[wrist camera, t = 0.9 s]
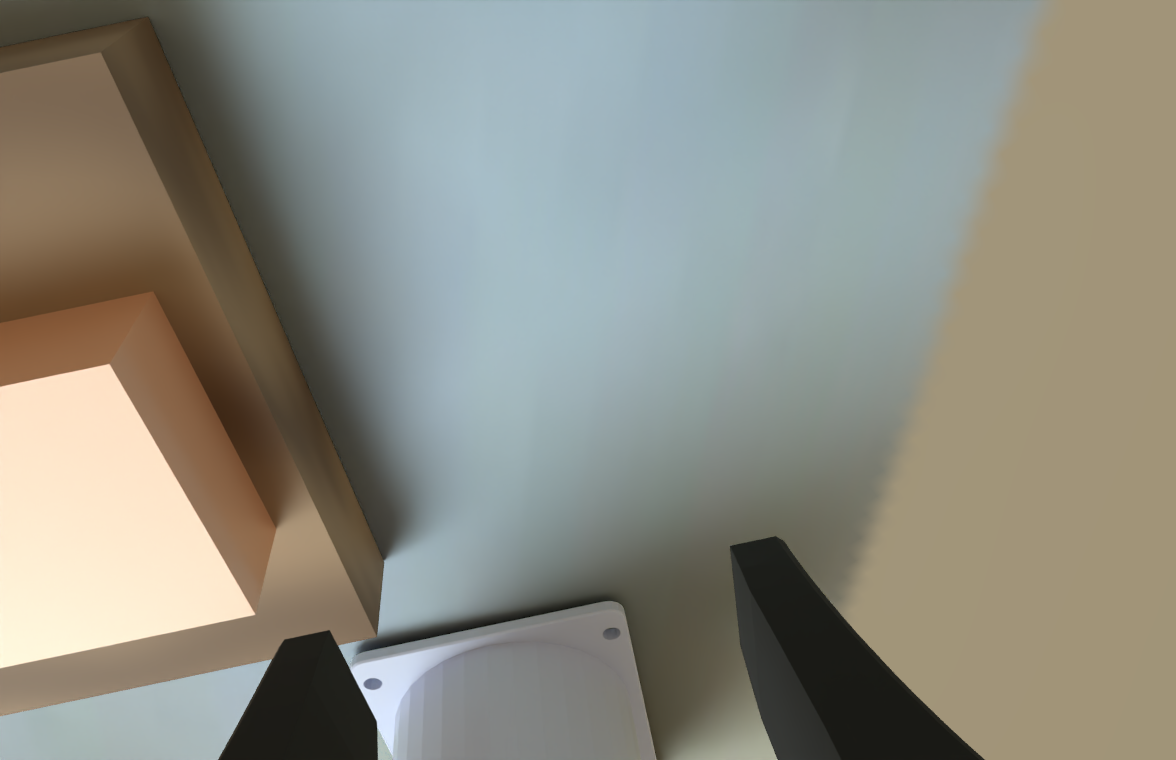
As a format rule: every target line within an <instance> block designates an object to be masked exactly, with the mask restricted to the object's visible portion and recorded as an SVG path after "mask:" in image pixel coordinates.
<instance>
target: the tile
mask: <svg viewBox="0 0 1176 760" xmlns="http://www.w3.org/2000/svg"><path fill="white" fill-rule="evenodd" d="M275 533H276V527H275V525H274V523H273V521H272V520H271V518H270V516H269V514H268V512H267V510H266V508H265V506H264V504H263V502H262V500H261V498H260V496H259V494H258V493H257V491H256V489H255V487H254V485H253V483H252V481H251V479H250V477H249V475H248V473H247V471H246V469H245V467H244V465H243V464H242V462H241V460H240V458H239V456H238V454H237V452H236V450H235V448H234V446H233V444H232V442H231V440H230V438H229V437H228V435H227V433H226V431H225V429H224V427H223V425H222V423H221V421H220V419H219V417H218V415H217V413H216V411H215V409H214V408H213V406H212V404H211V402H210V400H209V398H208V396H207V394H206V392H205V390H204V388H203V386H202V384H201V382H200V381H199V379H198V377H197V375H196V373H195V371H194V369H193V367H192V365H191V363H190V361H189V359H188V357H187V355H186V353H185V352H184V350H183V348H182V346H181V344H180V342H179V340H178V338H177V336H176V334H175V332H174V330H173V328H172V326H171V325H170V323H169V321H168V319H167V317H166V315H165V313H164V311H163V309H162V307H161V305H160V303H159V301H158V299H157V297H156V296H155V294H154V292H153V291H152V292H147V293H143V294H138V295H133V296H128V297H123V298H119V299H114V300H109V301H104V302H99V303H94V304H90V305H85V306H80V307H75V308H70V309H66V310H61V311H56V312H51V313H46V314H42V315H37V316H32V317H27V318H22V319H17V320H13V321H8V322H3V323H0V668H4V667H8V666H13V665H18V664H23V663H27V662H32V661H37V660H42V659H47V658H51V657H56V656H61V655H66V654H70V653H75V652H80V651H85V650H89V649H94V648H99V647H104V646H109V645H113V644H118V643H123V642H128V641H132V640H137V639H142V638H147V637H151V636H156V635H161V634H166V633H170V632H175V631H180V630H185V629H190V628H194V627H199V626H204V625H209V624H213V623H218V622H223V621H228V620H232V619H237V618H242V617H247V616H252V615H256V611H257V606H258V602H259V598H260V594H261V590H262V586H263V582H264V578H265V574H266V570H267V566H268V562H269V557H270V553H271V549H272V545H273V541H274V537H275Z"/></svg>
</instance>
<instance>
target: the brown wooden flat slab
mask: <svg viewBox="0 0 1176 760" xmlns="http://www.w3.org/2000/svg"><path fill="white" fill-rule="evenodd" d="M152 291H153V292H154V294H155V296H156V297H157V299H158V301H159V303H160V305H161V307H162V309H163V311H164V313H165V315H166V317H167V319H168V321H169V323H170V325H171V326H172V328H173V330H174V332H175V334H176V336H177V338H178V340H179V342H180V344H181V346H182V348H183V350H184V352H185V353H186V355H187V357H188V359H189V361H190V363H191V365H192V367H193V369H194V371H195V373H196V375H197V377H198V379H199V381H200V382H201V384H202V386H203V388H204V390H205V392H206V394H207V396H208V398H209V400H210V402H211V404H212V406H213V408H214V409H215V411H216V413H217V415H218V417H219V419H220V421H221V423H222V425H223V427H224V429H225V431H226V433H227V435H228V437H229V438H230V440H231V442H232V444H233V446H234V448H235V450H236V452H237V454H238V456H239V458H240V460H241V462H242V464H243V465H244V467H245V469H246V471H247V473H248V475H249V477H250V479H251V481H252V483H253V485H254V487H255V489H256V491H257V493H258V494H259V496H260V498H261V500H262V502H263V504H264V506H265V508H266V510H267V512H268V514H269V516H270V518H271V520H272V521H273V523H274V525H275V527H276V533H275V537H274V541H273V545H272V549H271V553H270V557H269V562H268V566H267V570H266V574H265V578H264V582H263V586H262V590H261V594H260V598H259V602H258V606H257V611H256V615H252V616H247V617H242V618H237V619H232V620H228V621H223V622H218V623H213V624H209V625H204V626H199V627H194V628H190V629H185V630H180V631H175V632H170V633H166V634H161V635H156V636H151V637H147V638H142V639H137V640H132V641H128V642H123V643H118V644H113V645H109V646H104V647H99V648H94V649H89V650H85V651H80V652H75V653H70V654H66V655H61V656H56V657H51V658H47V659H42V660H37V661H32V662H27V663H23V664H18V665H13V666H8V667H4V668H0V716H3V715H8V714H13V713H18V712H22V711H27V710H32V709H37V708H41V707H46V706H51V705H56V704H60V703H65V702H70V701H75V700H80V699H84V698H89V697H94V696H99V695H103V694H108V693H113V692H118V691H122V690H127V689H132V688H137V687H141V686H146V685H151V684H156V683H160V682H165V681H170V680H175V679H180V678H184V677H189V676H194V675H199V674H203V673H208V672H213V671H218V670H222V669H227V668H232V667H237V666H241V665H246V664H251V663H256V662H260V661H265V660H270V659H273V657H274V655H275V653H276V652H277V650H278V648H279V646H280V645H281V643H282V642H283V641H284V639H289V638H294V637H299V636H303V635H308V634H313V633H318V632H323V631H327V630H330V632H331V634H332V635H333V637H334V639H335V641H336V643H337V645H341V644H346V643H351V642H356V641H360V640H365V639H370V638H375V637H377V632H378V621H379V611H380V600H381V590H382V580H383V569H384V561H383V559H382V556H381V554H380V552H379V549H378V547H377V545H376V542H375V540H374V538H373V535H372V533H371V531H370V529H369V526H368V524H367V522H366V519H365V517H364V515H363V512H362V510H361V508H360V505H359V503H358V501H357V498H356V496H355V494H354V492H353V489H352V487H351V485H350V482H349V480H348V478H347V475H346V473H345V471H344V468H343V466H342V464H341V461H340V459H339V457H338V455H337V452H336V450H335V448H334V445H333V443H332V441H331V438H330V436H329V434H328V431H327V429H326V427H325V425H324V422H323V420H322V418H321V415H320V413H319V411H318V408H317V406H316V404H315V401H314V399H313V397H312V394H311V392H310V390H309V388H308V385H307V383H306V381H305V378H304V376H303V374H302V371H301V369H300V367H299V364H298V362H297V360H296V357H295V355H294V353H293V351H292V348H291V346H290V344H289V341H288V339H287V337H286V334H285V332H284V330H283V327H282V325H281V323H280V320H279V318H278V316H277V314H276V311H275V309H274V307H273V304H272V302H271V300H270V297H269V295H268V293H267V290H266V288H265V286H264V283H263V281H262V279H261V277H260V274H259V272H258V270H257V267H256V265H255V263H254V260H253V258H252V256H251V253H250V251H249V249H248V247H247V244H246V242H245V240H244V237H243V235H242V233H241V230H240V228H239V226H238V223H237V221H236V219H235V216H234V214H233V212H232V210H231V207H230V205H229V203H228V200H227V198H226V196H225V193H224V191H223V189H222V186H221V184H220V182H219V179H218V177H217V175H216V173H215V170H214V168H213V166H212V163H211V161H210V159H209V156H208V154H207V152H206V149H205V147H204V145H203V142H202V140H201V138H200V136H199V133H198V131H197V129H196V126H195V124H194V122H193V119H192V117H191V115H190V112H189V110H188V108H187V106H186V103H185V101H184V99H183V96H182V94H181V92H180V89H179V87H178V85H177V82H176V80H175V78H174V75H173V73H172V71H171V69H170V66H169V64H168V62H167V59H166V57H165V55H164V52H163V50H162V48H161V45H160V43H159V41H158V38H157V36H156V34H155V32H154V29H153V27H152V25H151V22H150V20H149V18H148V17H145V18H140V19H135V20H130V21H125V22H120V23H115V24H111V25H106V26H101V27H96V28H91V29H86V30H82V31H77V32H72V33H67V34H62V35H57V36H52V37H48V38H43V39H38V40H33V41H28V42H23V43H18V44H14V45H9V46H4V47H0V323H3V322H8V321H13V320H17V319H22V318H27V317H32V316H37V315H42V314H46V313H51V312H56V311H61V310H66V309H70V308H75V307H80V306H85V305H90V304H94V303H99V302H104V301H109V300H114V299H119V298H123V297H128V296H133V295H138V294H143V293H147V292H152Z"/></svg>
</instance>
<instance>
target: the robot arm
mask: <svg viewBox="0 0 1176 760" xmlns="http://www.w3.org/2000/svg"><path fill="white" fill-rule="evenodd" d="M730 551H731V560H732V570H733V579H734V589H735V598H736V608H737V617H738V627H739V636H740V645H741V649H742V652H743V656H744V660H745V663H746V667H747V670H748V674H749V677H750V681H751V684H752V688H753V691H754V695H755V698H756V701H757V705H758V708H759V712H760V715H761V718H762V721H763V724H764V726H765V729H766V731H767V734H768V736H769V739H770V741H771V744H772V746H773V749H774V751H775V754H776V757H777V759H778V760H984V759H983V758H982V757H981V756H980V755H979V754H978V753H976V752H975V751H974V750H973V749H972V748H971V747H970V746H969V745H968V744H967V743H965V742H964V741H963V740H962V739H961V738H960V737H959V736H958V735H957V734H956V733H955V732H953V731H952V730H951V729H950V728H949V727H948V726H947V725H946V724H945V723H944V722H943V721H942V720H940V718H939V717H937V715H936V714H935V713H934V712H933V711H932V710H931V709H930V708H928V707H927V706H926V705H925V704H924V703H923V702H922V701H921V700H920V699H919V698H918V697H917V696H916V695H915V694H914V693H913V692H912V691H911V690H910V689H909V688H908V687H907V686H906V685H905V684H904V683H903V682H902V681H901V680H900V679H899V678H898V677H897V676H896V675H895V674H894V673H893V672H892V670H891V669H890V668H889V667H888V666H887V665H886V664H885V663H884V662H883V661H882V660H881V659H880V657H879V656H878V655H877V654H876V653H875V652H874V651H873V650H872V649H871V648H870V647H869V646H868V645H867V644H866V643H865V641H864V640H863V639H862V638H861V637H860V636H859V635H858V634H857V633H856V632H855V630H854V629H853V628H852V627H851V626H850V625H849V624H848V622H847V621H846V620H845V619H844V618H843V617H842V616H841V614H840V613H839V612H838V611H837V610H836V608H835V607H834V606H833V605H832V604H831V602H830V601H829V600H828V599H827V598H826V596H825V595H824V594H823V593H822V592H821V590H820V589H819V588H818V587H817V585H816V584H815V583H814V582H813V580H812V579H811V578H810V576H809V575H808V574H807V573H806V571H805V570H804V569H803V567H802V566H801V565H800V563H799V562H798V560H797V559H796V558H795V556H794V555H793V554H792V552H791V551H790V549H789V548H788V546H787V545H786V543H785V542H784V541H783V540H781V539H779V538H777V537H776V536H775V537H770V538H766V539H761V540H756V541H751V542H747V543H742V544H737V545H732V546H730ZM608 628H612V629H608ZM377 728H378V729H379V731H380V733H381V735H382V737H383V739H384V741H385V743H386V745H387V747H388V749H389V751H390V753H391V754H392V756H393V758H392V760H657V759H656V754H655V750H654V745H653V740H652V736H651V731H650V727H649V722H648V717H647V713H646V708H645V703H644V699H643V694H642V689H641V685H640V680H639V676H638V671H637V666H636V662H635V657H634V652H633V648H632V643H631V639H630V634H629V629H628V625H627V620H626V615H625V611H624V608H623V606H622V605H621V604H619V603H618V602H613V601H604V602H599V603H594V604H590V605H585V606H580V607H575V608H571V609H566V610H561V611H556V612H552V613H547V614H542V615H537V616H533V617H528V618H523V619H518V620H513V621H509V622H504V623H499V624H494V625H490V626H485V627H480V628H475V629H471V630H466V631H461V632H456V633H452V634H447V635H442V636H437V637H433V638H428V639H423V640H418V641H413V642H409V643H404V644H399V645H394V646H390V647H385V648H380V649H375V650H371V651H366V652H362V653H360V654H357V655H356V656H354V657H353V658H352V661H351V664H350V668H349V666H348V664H347V663H346V661H345V659H344V657H343V655H342V653H341V651H340V649H339V647H338V645H337V643H336V641H335V639H334V637H333V635H332V634H331V632H330V630H327V631H323V632H318V633H313V634H308V635H303V636H299V637H294V638H289V639H284V641H283V642H282V643H281V645H280V646H279V648H278V650H277V652H276V653H275V655H274V657H273V659H272V661H271V663H270V665H269V667H268V668H267V670H266V672H265V674H264V676H263V678H262V680H261V682H260V684H259V686H258V687H257V689H256V691H255V693H254V695H253V697H252V699H251V701H250V703H249V704H248V706H247V708H246V710H245V712H244V714H243V716H242V717H241V719H240V721H239V723H238V725H237V727H236V728H235V730H234V732H233V734H232V736H231V738H230V739H229V741H228V743H227V745H226V747H225V749H224V750H223V752H222V754H221V755H220V757H219V759H218V760H378V748H377Z"/></svg>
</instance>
